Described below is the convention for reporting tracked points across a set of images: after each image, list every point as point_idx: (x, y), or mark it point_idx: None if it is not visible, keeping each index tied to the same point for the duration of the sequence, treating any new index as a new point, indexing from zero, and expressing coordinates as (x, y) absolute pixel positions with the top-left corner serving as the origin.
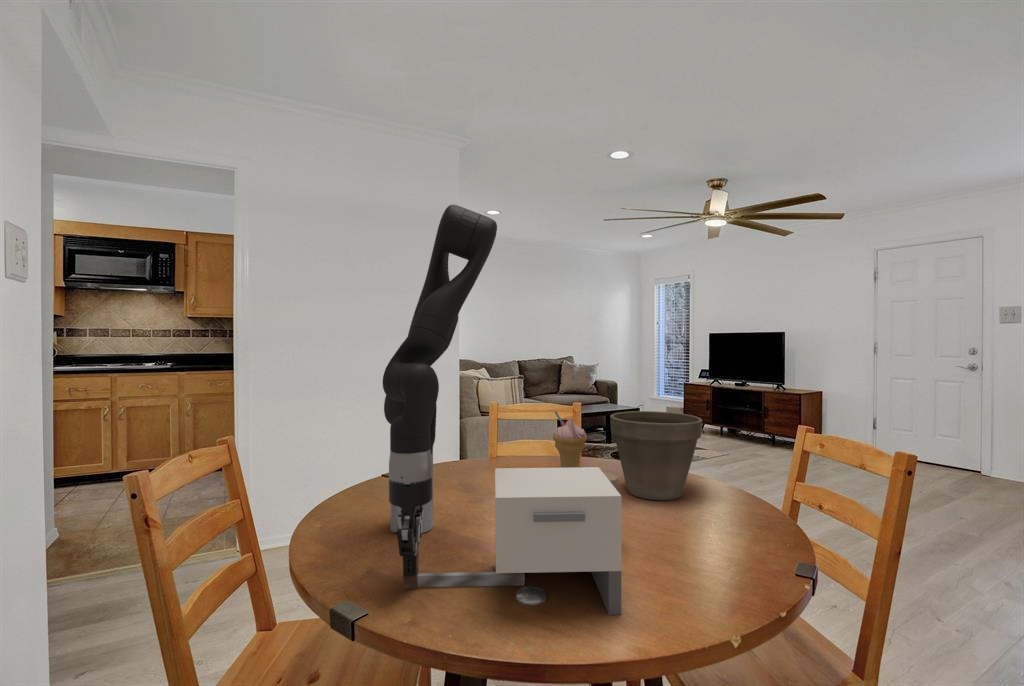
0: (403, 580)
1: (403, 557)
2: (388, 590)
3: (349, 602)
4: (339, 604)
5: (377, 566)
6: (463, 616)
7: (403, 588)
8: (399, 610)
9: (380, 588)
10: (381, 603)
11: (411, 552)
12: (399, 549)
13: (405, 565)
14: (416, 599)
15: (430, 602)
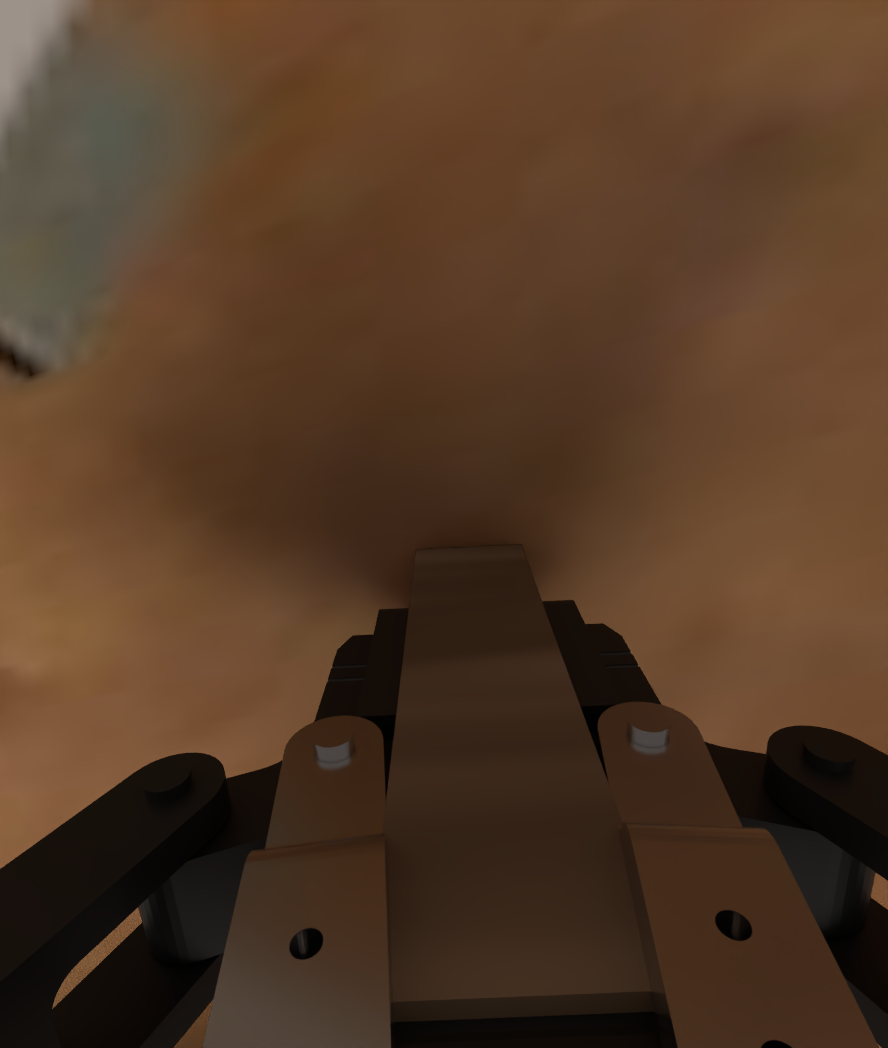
0: (413, 578)
1: (361, 707)
2: (400, 440)
3: (175, 153)
4: (128, 63)
5: (877, 208)
6: (122, 930)
7: (415, 554)
8: (122, 587)
9: (432, 364)
10: (196, 438)
11: (114, 953)
12: (5, 873)
13: (326, 694)
14: (280, 665)
15: (251, 753)
